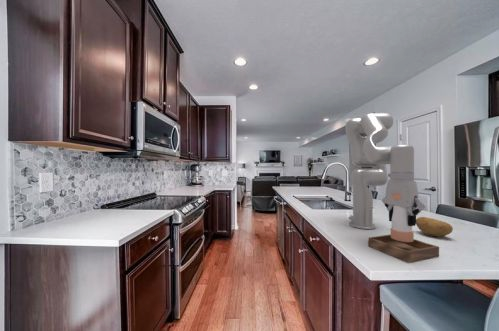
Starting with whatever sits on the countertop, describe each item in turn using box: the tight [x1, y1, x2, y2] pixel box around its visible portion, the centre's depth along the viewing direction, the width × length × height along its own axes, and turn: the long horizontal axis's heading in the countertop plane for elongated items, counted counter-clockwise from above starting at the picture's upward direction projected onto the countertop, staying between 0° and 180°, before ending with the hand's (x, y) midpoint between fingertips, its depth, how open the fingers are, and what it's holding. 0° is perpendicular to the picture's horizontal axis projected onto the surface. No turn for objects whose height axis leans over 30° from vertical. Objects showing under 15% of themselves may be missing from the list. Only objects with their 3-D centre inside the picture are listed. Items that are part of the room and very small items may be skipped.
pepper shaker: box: [390, 193, 415, 242], centre depth 83 cm, size 7×7×19 cm
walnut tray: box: [367, 233, 440, 264], centre depth 83 cm, size 16×16×4 cm
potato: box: [415, 216, 454, 238], centre depth 102 cm, size 10×14×8 cm
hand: (401, 222), depth 83 cm, fingers closed on pepper shaker, 6 cm apart
